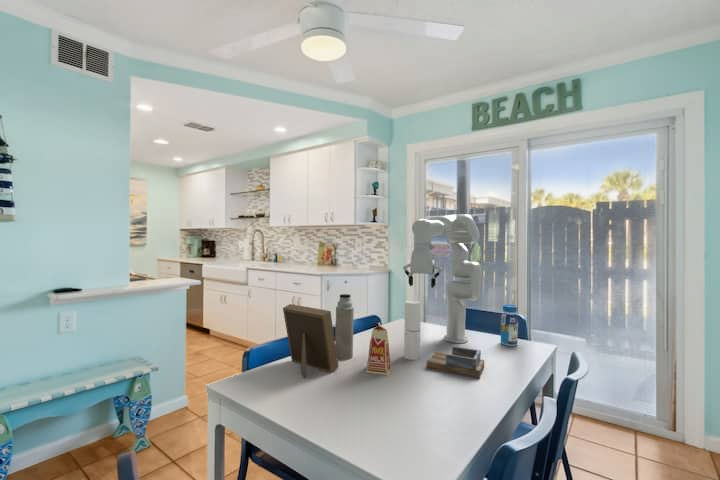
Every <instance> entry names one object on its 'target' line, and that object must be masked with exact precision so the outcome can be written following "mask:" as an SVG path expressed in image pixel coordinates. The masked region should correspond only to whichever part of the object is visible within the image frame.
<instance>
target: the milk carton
mask: <svg viewBox="0 0 720 480" xmlns="http://www.w3.org/2000/svg"><path fill="white" fill-rule="evenodd" d="M389 343H390V342H389V335H388V329H387V328H385V327H384V326H383V325H382V324H381V322H378V323H377V326H375V327H374V328H373V329H372V332H371V336H370V340H369V345H368V347H369V348H368V358H367V364H366V370H365V373H367V374H375V375H383V376H389V374H390V371H391V369H392V368H391V367H392V366H391V354H390V345H389Z"/></svg>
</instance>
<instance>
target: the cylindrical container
mask: <svg viewBox="0 0 720 480" xmlns="http://www.w3.org/2000/svg"><path fill="white" fill-rule="evenodd" d="M421 318H422V302H421V301H420V300H419V301H417V300H406V301H405V302H404V331H403V332H404V334H403V335H404V339H403V341H404V342H403V358H404V359H406V360H410V361H411V360H413V361H417V360H420V358H421V357H420V355H421V324H422V323H421Z"/></svg>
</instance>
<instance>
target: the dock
mask: <svg viewBox="0 0 720 480" xmlns="http://www.w3.org/2000/svg"><path fill="white" fill-rule="evenodd" d="M484 369H485V359H481V350H479V349H473V348H466V347H459V346H452V347H451V354H450V353H443V352H437V351H435V352H434V353H433V354H432V355H431V356H430V357H429V358H428V359H427V361H426V370H432V371H436V372H442V373H447V374H454V375H459V376H464V377H468V378H474V379H480V378H481V376H482V373H483V371H484Z"/></svg>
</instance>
